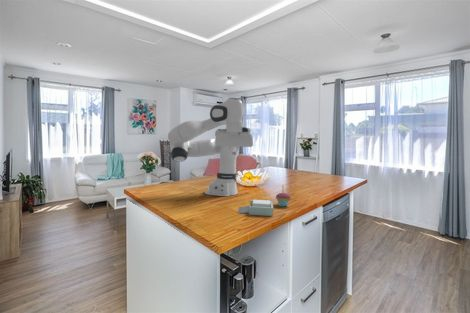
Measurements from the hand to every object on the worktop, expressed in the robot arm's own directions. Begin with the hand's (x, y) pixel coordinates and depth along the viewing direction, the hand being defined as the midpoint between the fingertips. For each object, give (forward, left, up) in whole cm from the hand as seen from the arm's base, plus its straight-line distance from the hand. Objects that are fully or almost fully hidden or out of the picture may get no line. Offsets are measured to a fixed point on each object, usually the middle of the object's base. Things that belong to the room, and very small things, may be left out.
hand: (233, 155), depth 128 cm
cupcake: (+28, +11, -29) cm, 42 cm away
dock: (+12, -3, -30) cm, 33 cm away
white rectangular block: (+16, -3, -28) cm, 32 cm away
